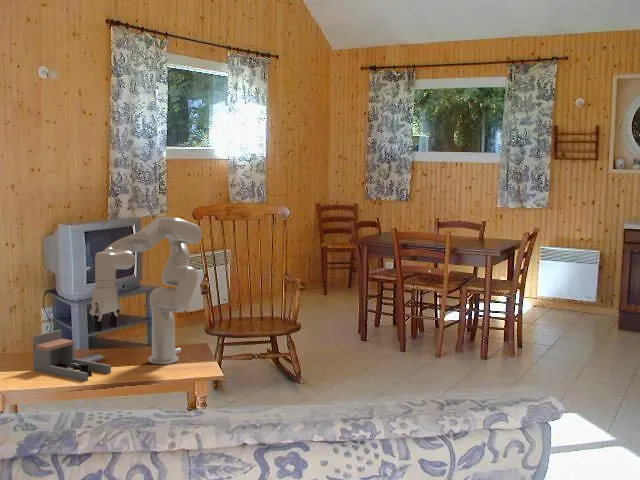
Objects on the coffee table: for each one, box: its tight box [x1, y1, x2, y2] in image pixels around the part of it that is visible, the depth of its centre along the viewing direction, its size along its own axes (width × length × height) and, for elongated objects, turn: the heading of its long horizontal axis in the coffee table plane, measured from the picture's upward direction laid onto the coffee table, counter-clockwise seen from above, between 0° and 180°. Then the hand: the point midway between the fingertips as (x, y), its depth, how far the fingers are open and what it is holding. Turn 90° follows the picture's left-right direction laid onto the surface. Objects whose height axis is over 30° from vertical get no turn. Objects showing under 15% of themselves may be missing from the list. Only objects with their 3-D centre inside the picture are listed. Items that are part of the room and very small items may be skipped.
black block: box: [79, 363, 93, 378], centre depth 295 cm, size 12×7×5 cm, turn 22°
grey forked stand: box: [32, 329, 112, 382], centre depth 297 cm, size 14×28×14 cm, turn 62°
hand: (105, 328), depth 288 cm, fingers open, 7 cm apart
